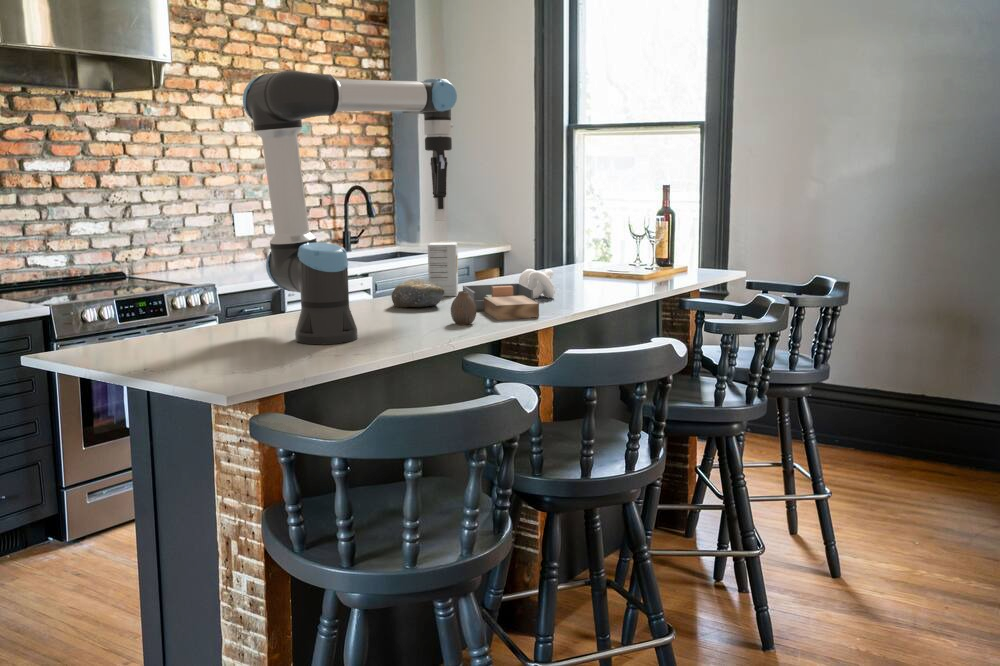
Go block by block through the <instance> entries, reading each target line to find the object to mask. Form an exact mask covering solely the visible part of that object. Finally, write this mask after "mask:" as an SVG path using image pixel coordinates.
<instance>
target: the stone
mask: <svg viewBox="0 0 1000 666" xmlns="http://www.w3.org/2000/svg"><path fill="white" fill-rule="evenodd" d="M443 295H444V290H443V289H442V288H441V287H439V286H437V285H434V284H433V283H431V282H429V281H427V280H423V279H419V278H412V279H408V280H406V281H404V282H402V283H401V284H398V285H397V286H395V288H394V289H393V291H392V293H391V296H390V297H391V301H392V303H393V306H394V307H396V308H419V307H420V308H425V307H430V306H431V307H432V306H433V307H434V306H438V304H439V303H440V302H441V301H442V299H443V298H444V296H443Z"/></svg>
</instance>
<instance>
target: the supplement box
mask: <svg viewBox="0 0 1000 666" xmlns="http://www.w3.org/2000/svg"><path fill="white" fill-rule="evenodd" d="M458 250H459V249H458V242H455V241H454V242H450V241H449V242H430V243H429V244H427V264H428V267H427V268H428V271H427V272H428V282H431V283H433V284H434V285H437V286H439V287H441V288H442V289H443V290H444V295H443V297H456V296H457V295H458V292H459V265H458V263H459V262H458V261H459V260H458V257H459V255H458V252H459V251H458Z"/></svg>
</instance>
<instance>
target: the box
mask: <svg viewBox="0 0 1000 666" xmlns="http://www.w3.org/2000/svg"><path fill="white" fill-rule="evenodd" d="M491 286H513V296H523V295H524V296H526V297H527V298H529V299H531V300H533V301H534V299H533V290H532V289H530V288H528V287H526V286H524V285H522V284H520V283H519V282H517V283H515V282H514V283H499V284H497V283H496V284H476V285H473V284H472V285H462V291H467V292H468V294H469V296H470V297H471V298H472V299H473V301H474V302H475V305H476V312H483V311H484V297H486V295H492V292H491ZM484 312H485V311H484Z"/></svg>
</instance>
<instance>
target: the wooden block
mask: <svg viewBox="0 0 1000 666" xmlns="http://www.w3.org/2000/svg"><path fill="white" fill-rule="evenodd" d="M484 312H485V313H487V314H488V316H491V317H492V318H494V319H495V320H496V321H502V320H503V321H504V320H520V319H519V318H524V319H532V318H531V317H539V318H540V303H539V302H537V301H535V300H534V299H533V300H531V299H529V298H527V297H526V296H524V295H523V296H502V297H484Z"/></svg>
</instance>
